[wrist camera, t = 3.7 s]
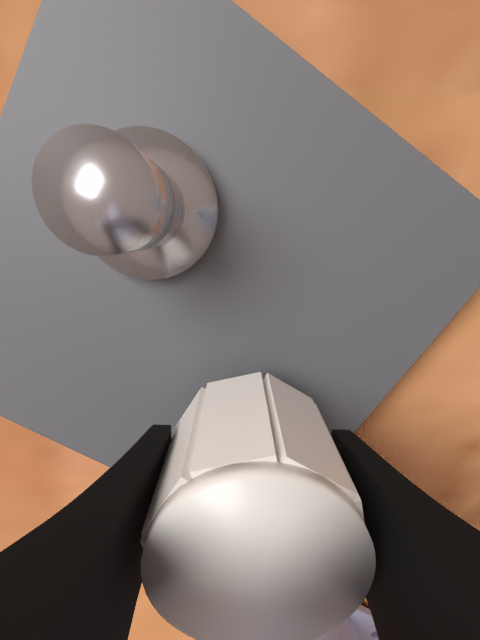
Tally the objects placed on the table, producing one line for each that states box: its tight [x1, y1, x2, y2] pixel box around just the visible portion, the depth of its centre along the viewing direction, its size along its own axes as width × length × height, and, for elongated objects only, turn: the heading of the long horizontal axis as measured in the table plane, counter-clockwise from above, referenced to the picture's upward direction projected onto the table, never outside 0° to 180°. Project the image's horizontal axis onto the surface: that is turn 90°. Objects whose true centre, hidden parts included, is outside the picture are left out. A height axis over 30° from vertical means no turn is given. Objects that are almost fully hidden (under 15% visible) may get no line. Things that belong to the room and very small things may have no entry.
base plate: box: [0, 0, 480, 467], centre depth 11 cm, size 16×16×1 cm
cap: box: [140, 372, 376, 640], centre depth 9 cm, size 5×5×4 cm
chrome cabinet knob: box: [32, 124, 219, 280], centre depth 8 cm, size 4×4×4 cm
